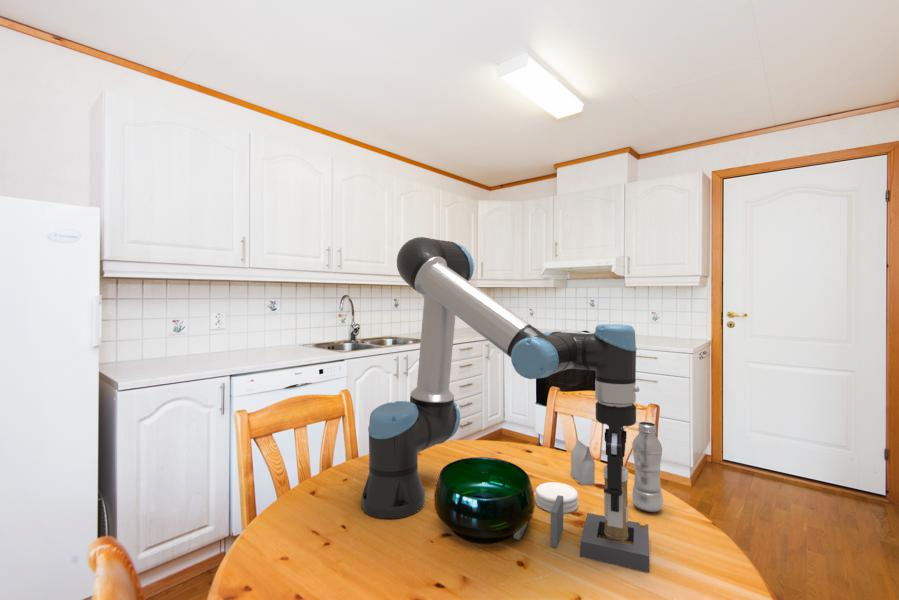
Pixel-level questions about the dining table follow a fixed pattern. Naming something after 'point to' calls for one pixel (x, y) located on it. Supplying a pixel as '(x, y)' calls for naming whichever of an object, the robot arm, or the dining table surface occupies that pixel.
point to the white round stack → (549, 493)
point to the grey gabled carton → (582, 464)
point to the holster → (555, 523)
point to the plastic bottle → (647, 469)
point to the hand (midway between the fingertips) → (615, 519)
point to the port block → (615, 544)
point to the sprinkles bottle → (622, 533)
